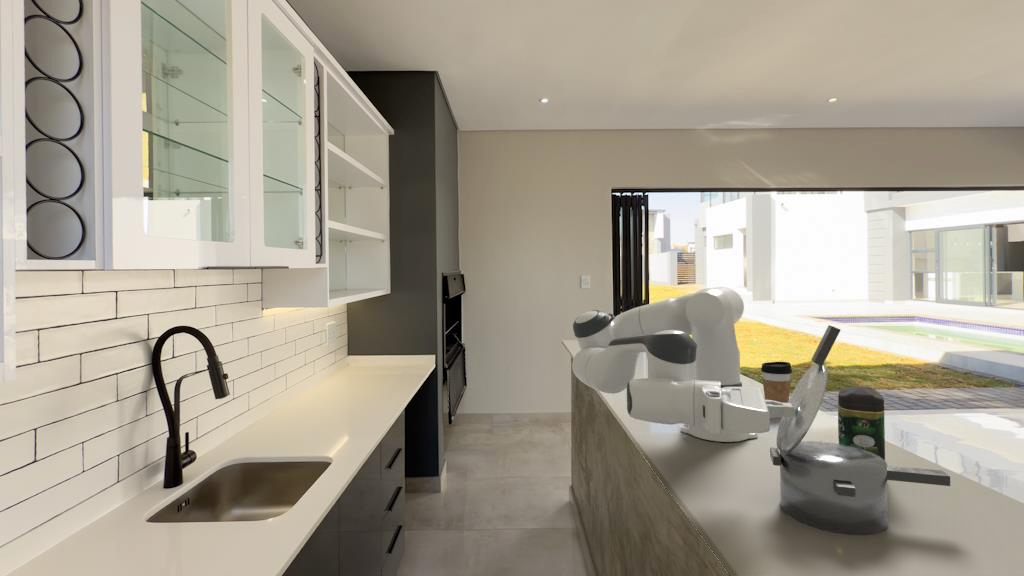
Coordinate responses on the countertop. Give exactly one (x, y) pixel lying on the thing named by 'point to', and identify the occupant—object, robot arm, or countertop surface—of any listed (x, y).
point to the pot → (841, 486)
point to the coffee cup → (776, 381)
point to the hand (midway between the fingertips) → (794, 410)
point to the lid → (807, 396)
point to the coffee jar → (861, 419)
